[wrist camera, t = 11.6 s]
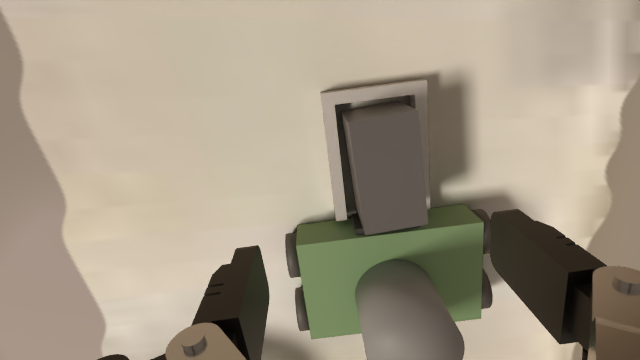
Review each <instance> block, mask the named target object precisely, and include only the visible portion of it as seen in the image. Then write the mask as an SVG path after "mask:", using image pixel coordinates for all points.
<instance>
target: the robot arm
mask: <svg viewBox="0 0 640 360" xmlns="http://www.w3.org/2000/svg"><path fill="white" fill-rule="evenodd" d="M490 257H491V261H492V264H493V266H494V268H495V270H496V271H497V272H498V273H499V275H500V276H501V277H502V278H503V279H504V280H505V282H506V283H507V284H508V285H509V286H510V287H511V289H512V290H513V291H514V292H515V293H516V294H517V296H518V297H519V298H520V299H521V300H522V301H523V302H524V304H525V305H526V306H527V307H528V308H529V309H530V311H531V312H532V313H533V314H534V315H535V316H536V318H537V319H538V320H539V321H540V322H541V323H542V324H543V326H544V327H545V328H546V329H547V330H548V331H549V333H550V334H551V335H552V336H553V337H554V338H555V340H556V341H557V342H558V343H559V344H566V343H574V342H579V343H580V344H581V345H582V350H581V359H580V360H640V271H639V270H635V269H631V268H627V267H621V266H607V265H605V264H604V263H603V262H601V261H600V260H598V259H597V258H596V257H594V256H593V255H591V254H590V253H589V252H587V251H586V250H584V249H583V248H582V247H580V246H579V245H575V242H573V241H572V240H570V239H569V238H568V237H567V238H566V237H565V235H563V234H562V233H561V232H559V231H558V230H556V229H555V228H554V227H551V226H549V225H546V224H544V223H541V222H539V221H534V220H532V219H531V218H530V217H528V216H527V215H526V214H524V213H523V212H522V211H520V210H518V209H513V210H506V211H499V212H494V213H493V214H492V216H491V236H490ZM204 295H205V296H204V297H203V299H202V301H201V304H200V306H199V308H198V311H197V313H196V316H195V318H194V321H193V323H192V325H191V326H190V327H188V328H186V329H184V330H182V331H181V332H180V333H178V334H177V335H176V336H175V337H174V338H173V339H172V340H171V341H170V343H169V344H168V346H167V348H166V353H165V354H163V355H161V356H159V357H156V358H154V359H151V360H261V354H262V347H263V340H264V333H265V327H266V320H267V313H268V306H269V287H268V281H267V277H266V273H265V268H264V264H263V259H262V255H261V251H260V248H259V246H258V245H257V246H250V247H243V248H237V249H236V250H235V253H234V256H233V259H232V261H231V264H226V265H222V266H221V267H220V268H219V269H218V270H217V271H216V272H215V273H214V274H213V275H212V277H211V280H210V282H209V284H208V288H207V289H206V292H205V294H204ZM98 360H129V359H128V358H127V357H126V356H124V355H119V354H115V355H109V356H106V357H103V358H100V359H98Z"/></svg>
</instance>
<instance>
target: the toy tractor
mask: <svg viewBox="0 0 640 360" xmlns="http://www.w3.org/2000/svg"><path fill="white" fill-rule="evenodd" d="M320 93H321V102H322V110H323V118H324V127H325V135H326V143H327V152H328V160H329V168H330V176H331V185H332V193H333V201H334V210H335V217H336V220H333V221H325V222H318V223H310V224H302V225H297V232H296V233H288V234H286V239H285V244H286V258H287V265H288V271H289V275H290V277H291V278H294V277H301V279H302V285H303V287H299V288H296V290H295V302H296V314H297V322H298V327H299V330H300V331H305V330H310V334H311V339H318V338H326V337H335V336H343V335H351V334H359V333H362V336H363V341H364V346H365V352H366V357H367V360H462V359H463V355H464V341H463V337H462V335H461V333H460V331H459V329H458V328H457V326H456V324H455V322H456V321H465V320H473V319H481V309H484V308H490V307H491V305H492V289H491V285H490V282H489V279H488V276H487V274H486V272H485V271H484V269H483V268H482V266H483V254H486V253H490V236H491V220H490V218H489V216H488V215H487V213H486V212H485V211H484V210H482V209H479V210H470V209H469V208H468V207H467V206H466V205H465V204H460V205H452V206H444V207H436V208H430V174H429V134H428V94H427V80H424V79H418V80H410V81H403V82H395V83H387V84H380V85H372V86H364V87H356V88H349V89H341V90H333V91H326V92H320ZM406 95H410V99H411V107H412V108H414V109H416V110H418V113H419V124H420V136H421V147H422V158H423V170H424V181H425V192H426V204H427V215H428V224H427V225H421V226H416V227H410V228H404V229H399V230H393V231H387V232H381V233H376V234H370V235H365V233H364V230H363V226H362V223H361V220H360V217H359V214H353V215H351V216H352V218H349V219H347V214H346V204H345V195H344V186H343V177H342V168H341V159H340V149H339V140H338V131H337V122H336V113H335V105H336V104H344V103H352V102H360V101H367V100H375V99H383V98H390V97H398V96H406Z"/></svg>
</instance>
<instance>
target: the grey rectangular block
mask: <svg viewBox="0 0 640 360" xmlns="http://www.w3.org/2000/svg"><path fill="white" fill-rule="evenodd" d="M341 115H342V122H343V128H344V134H345V141H346V147H347V153H348V160H349V166H350V172H351V179H352V185H353V191H354V197H355V204H356V208H357V211H358V214H359V217H360V220H361V223H362V226H363V230H364V233H365V235H370V234H376V233H381V232H387V231H393V230H399V229H404V228H410V227H416V226H421V225H427V224H428V215H427V204H426V192H425V181H424V170H423V158H422V147H421V136H420V124H419V113H418V110H416V109H414V108H412V107H410V106H408V105H406V104H404V103H401V102H399V101H396V102H390V103H385V104H380V105H374V106H369V107H363V108H358V109H353V110H347V111H342V112H341Z"/></svg>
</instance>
